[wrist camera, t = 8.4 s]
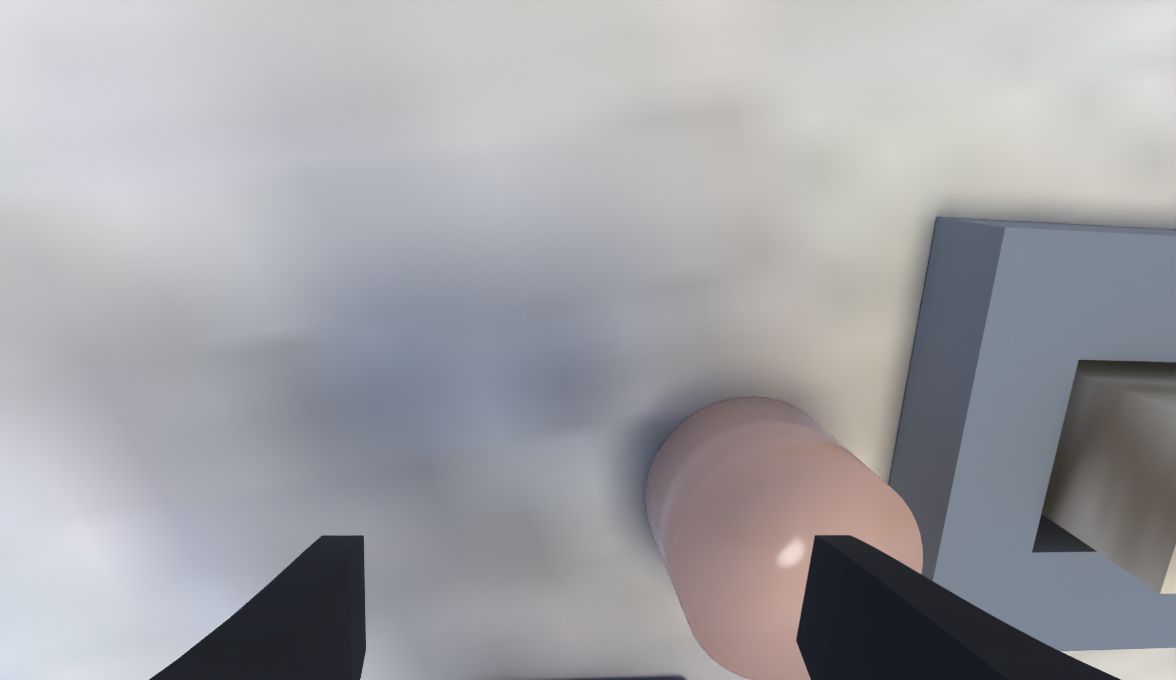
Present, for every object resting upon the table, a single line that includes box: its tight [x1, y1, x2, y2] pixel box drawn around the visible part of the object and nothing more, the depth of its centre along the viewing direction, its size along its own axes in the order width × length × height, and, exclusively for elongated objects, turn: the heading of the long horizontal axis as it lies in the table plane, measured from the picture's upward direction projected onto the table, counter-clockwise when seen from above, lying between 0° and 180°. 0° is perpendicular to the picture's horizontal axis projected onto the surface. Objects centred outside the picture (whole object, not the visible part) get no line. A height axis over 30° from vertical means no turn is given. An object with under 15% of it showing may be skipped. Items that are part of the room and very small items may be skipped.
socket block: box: [889, 217, 1176, 651], centre depth 22 cm, size 13×12×3 cm
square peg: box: [1041, 360, 1176, 594], centre depth 20 cm, size 4×4×6 cm
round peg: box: [645, 397, 923, 680], centre depth 20 cm, size 6×6×5 cm
